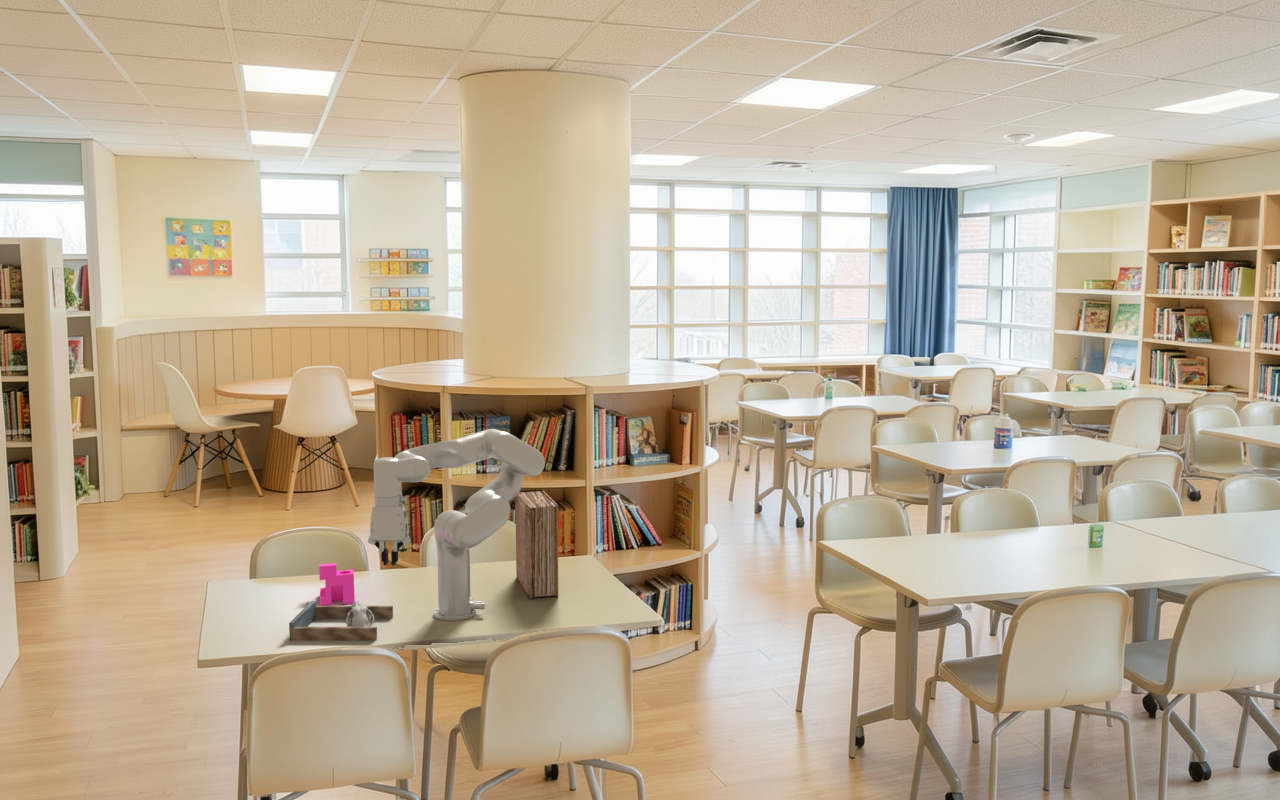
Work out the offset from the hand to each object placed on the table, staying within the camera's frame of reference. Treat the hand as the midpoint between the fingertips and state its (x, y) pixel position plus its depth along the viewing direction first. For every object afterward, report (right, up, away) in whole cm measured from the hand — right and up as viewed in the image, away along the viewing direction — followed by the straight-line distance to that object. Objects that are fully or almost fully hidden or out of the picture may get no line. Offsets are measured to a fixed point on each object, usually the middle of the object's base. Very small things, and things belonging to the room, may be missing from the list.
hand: (390, 563), depth 278 cm
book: (+38, -15, +41) cm, 58 cm away
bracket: (-24, -16, +28) cm, 40 cm away
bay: (-14, -19, +2) cm, 24 cm away
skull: (-9, -19, +2) cm, 21 cm away
